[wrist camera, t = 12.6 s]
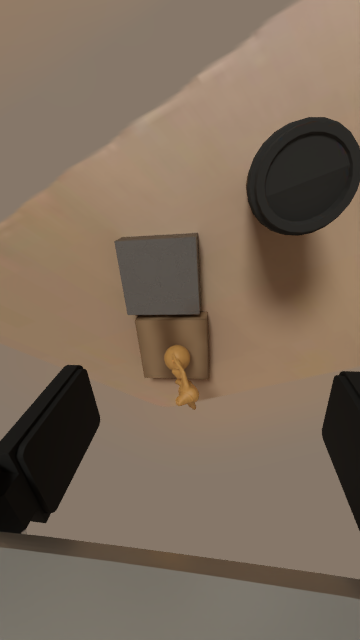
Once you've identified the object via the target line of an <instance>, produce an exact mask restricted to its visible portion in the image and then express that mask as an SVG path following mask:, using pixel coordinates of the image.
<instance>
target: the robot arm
mask: <svg viewBox="0 0 360 640" xmlns="http://www.w3.org/2000/svg"><path fill="white" fill-rule="evenodd" d="M99 423H100V415H99V412H98V408H97V405H96V401H95V398H94V394H93V391H92V387H91V384H90V380H89V377H88V373H87V371H86V369H83V367H82V366H80V365H66V366H65V367H64V368H63V369H62V370H61V371H60V373H58V375H57V376H56V377H55V378H54V379H53V380H52V382H51V383H50V384H49V385H48V386H47V387H46V389H45V390H44V391H43V392H42V393H41V394H40V396H39V397H38V398H37V399H36V400H35V401H34V403H33V404H32V405H31V406H30V407H29V409H28V410H27V411H26V412H25V413H24V414H23V415H22V417H21V418H20V419H19V420H18V421H17V422H16V424H15V425H14V426H13V427H12V428H11V429H10V431H9V432H8V433H7V434H6V435H5V436H4V438H3V439H2V440H1V441H0V640H360V579H353V578H347V577H341V576H334V575H327V574H321V573H314V572H307V571H300V570H292V569H285V568H278V567H271V566H264V565H256V564H249V563H242V562H235V561H228V560H220V559H213V558H206V557H198V556H190V555H184V554H176V553H169V552H161V551H153V550H146V549H138V548H131V547H123V546H116V545H108V544H100V543H91V542H84V541H76V540H69V539H61V538H53V537H45V536H36V535H27V533H26V528H27V526H28V524H29V522H30V521H33V522H41V523H46V522H47V520H48V518H49V516H50V514H51V513H53V512H55V511H56V509H57V508H58V506H59V504H60V502H61V500H62V498H63V496H64V494H65V492H66V490H67V488H68V486H69V484H70V482H71V480H72V478H73V476H74V474H75V472H76V470H77V468H78V466H79V464H80V462H81V460H82V458H83V456H84V454H85V452H86V451H87V449H88V446H89V445H90V443H91V441H92V439H93V437H94V435H95V433H96V431H97V429H98V427H99ZM322 436H323V440H324V443H325V445H326V448H327V450H328V453H329V455H330V458H331V460H332V463H333V465H334V468H335V470H336V473H337V475H338V478H339V480H340V483H341V485H342V488H343V490H344V492H345V495H346V498H347V500H348V503H349V505H350V508H351V510H352V513H353V515H354V518H355V520H356V523H357V525H358V528H359V530H360V372H348V371H346V372H345V371H342V372H341V373H340V374H339V375H336V376H335V377H334V380H333V384H332V389H331V393H330V397H329V401H328V406H327V410H326V415H325V419H324V423H323V428H322Z"/></svg>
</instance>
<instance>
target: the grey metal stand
mask: <svg viewBox="0 0 360 640" xmlns="http://www.w3.org/2000/svg"><path fill="white" fill-rule="evenodd" d="M114 242H115V247H116V253H117V258H118V264H119V269H120V275H121V280H122V286H123V292H124V297H125V303H126V308H127V314H128V315H176V314H200V308H201V297H200V274H199V251H198V233H190V234H173V235H155V236H137V237H122V238H120V239H118V240H116V241H114Z"/></svg>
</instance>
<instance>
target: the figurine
mask: <svg viewBox="0 0 360 640" xmlns="http://www.w3.org/2000/svg"><path fill="white" fill-rule="evenodd" d="M164 361H165V364H166V366H167V367H168V368H169V369H171V370H172V373H173V374H174V375H175V376H176V378H177V380H176V382H175V383H176V384H178V385H179V386H180V387H179V396H178V397H177V398H176V404H177V405H178V406H182V405H185V404H188V405H189V406H190V407H191V408H192V409H194V410H195V409H196V405H195V402H196V401H197V400H198V398H199V392H198V390H197V388H196V387H195V386H194V385H193V384H192V383H191V381H189V380H188V379H187V376H186V373H185V371H184V369H185V368H186V367H187V366H188V365H189V363H190V354H189V352H188V350H187V349H186V348H185V347H183V346H181V345H174V346H171V347H170V348H168V349H167V351H166V352H165V355H164Z"/></svg>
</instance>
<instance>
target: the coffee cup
mask: <svg viewBox="0 0 360 640" xmlns="http://www.w3.org/2000/svg"><path fill="white" fill-rule="evenodd" d="M359 183H360V148H359V145H358V143H357V142H356V140H355V138H354V137H353V135H352V133H351V132H350V131H349V130H348V129H347V128H346V127H344V126H343V125H342V124H341V123H339V122H337V121H334V120H331V119H328V118H325V117H309V118H305V119H302V120H298V121H295V122H292V123H289V124H287V125H285V126H284V127H282V128H281V129H279V130H277V131H276V132H274V133H273V134H272V135H271V136H270V137H269V138H268V139H267V140H266V141H265V142H264V143H263V144H262V146H261V148H260V149H259V151H258V152H257V154H256V155H255V157H254V159H253V162H252V164H251V167H250V170H249V173H248V176H247V183H246V189H247V195H248V202H249V205H250V207H251V210H252V212H253V214H254V215H255V217H256V218H257V219H258V221H259V222H260V223H261V224H262V225H264V226H265V227H267V228H268V229H269V230H271V231H274V232H277V233H280V234H284V235H303V234H308V233H312V232H315V231H317V230H319V229H321V228H323V227H325V226H327V225H328V224H329V223H331V222H332V221H333V220H335V219H336V218H337V217H338V216H339V215H340V214H341V213H342V212H343V211H344V210H345V208H346V207H347V206H348V205H349V204H350V202H351V200H352V199H353V197H354V195H355V193H356V191H357V189H358V186H359Z"/></svg>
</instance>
